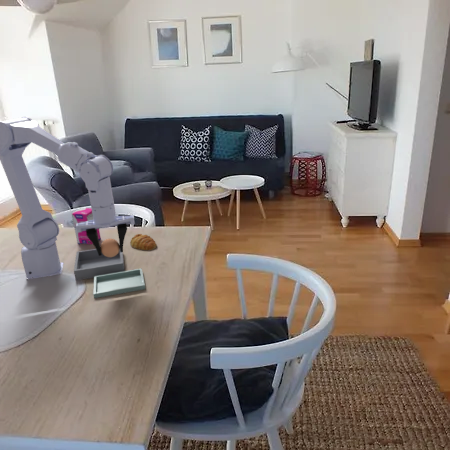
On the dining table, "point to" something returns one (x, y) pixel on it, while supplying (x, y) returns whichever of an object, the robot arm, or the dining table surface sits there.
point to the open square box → (96, 264)
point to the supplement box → (83, 216)
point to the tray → (118, 283)
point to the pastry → (143, 242)
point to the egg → (110, 247)
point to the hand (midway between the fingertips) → (111, 252)
